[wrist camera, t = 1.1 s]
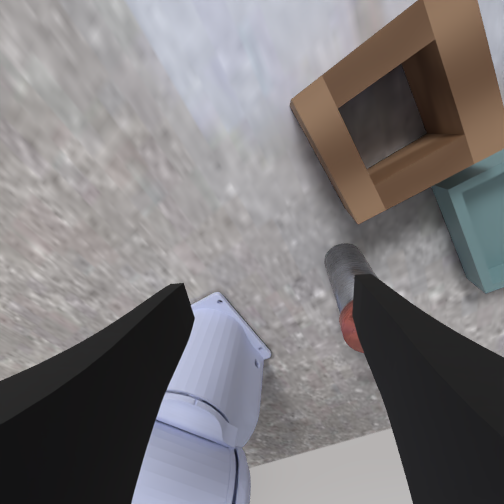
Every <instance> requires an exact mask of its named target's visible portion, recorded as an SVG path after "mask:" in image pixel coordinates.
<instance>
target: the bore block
mask: <svg viewBox="0 0 504 504" xmlns="http://www.w3.org/2000/svg"><path fill="white" fill-rule="evenodd" d="M400 64H402V67H403V69H404V72H405V75H406V78H407V80H408V83H409V86H410V89H411V91H412V94H413V97H414V99H415V102H416V105H417V108H418V110H419V113H420V116H421V119H422V121H423V124H424V127H425V130H426V132H427V134H425V135H424V136H422V137H420V138H419V139H417V140H415V141H414V142H412V143H410V144H409V145H407V146H405V147H404V148H402V149H400V150H398V151H397V152H395V153H393V154H392V155H390V156H388V157H387V158H385V159H383V160H382V161H380V162H378V163H377V164H375V165H373V166H372V167H370V168H368V169H366V167H365V165H364V163H363V161H362V159H361V157H360V155H359V152H358V150H357V148H356V146H355V144H354V142H353V140H352V138H351V136H350V134H349V131H348V129H347V127H346V125H345V123H344V121H343V119H342V117H341V115H340V113H339V110H338V108H339V107H341V106H342V105H344V104H345V103H346V102H348V101H349V100H351V99H352V98H353V97H355V96H356V95H358V94H359V93H360V92H362V91H363V90H365V89H366V88H367V87H369V86H370V85H372V84H373V83H374V82H376V81H377V80H379V79H380V78H381V77H383V76H384V75H386V74H387V73H388V72H390V71H391V70H393V69H394V68H396V67H397V66H398V65H400ZM290 107H291V109H292V111H293V113H294V115H295V117H296V118H297V120H298V122H299V124H300V126H301V128H302V130H303V131H304V133H305V135H306V137H307V139H308V141H309V143H310V144H311V146H312V148H313V150H314V152H315V154H316V155H317V157H318V159H319V161H320V163H321V165H322V167H323V168H324V170H325V172H326V174H327V176H328V178H329V180H330V181H331V183H332V185H333V187H334V189H335V191H336V192H337V194H338V196H339V198H340V200H341V202H342V204H343V205H344V207H345V209H346V210H347V211H348V212H349V214H350V215H351V216H352V218H353V219H354V220H355V221H356V223H357V224H360V223H362V222H364V221H366V220H368V219H370V218H372V217H374V216H375V215H377V214H379V213H381V212H383V211H385V210H387V209H389V208H391V207H393V206H395V205H397V204H399V203H401V202H402V201H404V200H406V199H408V198H410V197H412V196H414V195H416V194H418V193H420V192H422V191H424V190H426V189H427V188H429V187H431V186H433V185H435V184H437V183H439V182H441V181H443V180H445V179H447V178H449V177H451V176H452V175H454V174H456V173H458V172H460V171H462V170H464V169H466V168H468V167H470V166H472V165H474V164H476V163H477V162H479V161H481V160H483V159H485V158H487V157H489V156H491V155H493V154H495V153H497V152H499V151H501V150H502V149H504V106H503V102H502V98H501V94H500V90H499V86H498V82H497V78H496V74H495V70H494V66H493V62H492V58H491V54H490V50H489V45H488V41H487V37H486V33H485V29H484V25H483V21H482V17H481V13H480V9H479V5H478V1H477V0H418V1H416V2H415V3H414V4H413V5H411V6H410V7H409V8H407V9H406V10H405V11H404V12H402V13H401V14H400V15H398V16H397V17H396V18H395V19H393V20H392V21H391V22H390V23H388V24H387V25H386V26H384V27H383V28H382V29H381V30H379V31H378V32H377V33H375V34H374V35H373V36H372V37H370V38H369V39H368V40H367V41H365V42H364V43H363V44H361V45H360V46H359V47H358V48H356V49H355V50H354V51H352V52H351V53H350V54H349V55H347V56H346V57H345V58H344V59H342V60H341V61H340V62H338V63H337V64H336V65H335V66H333V67H332V68H331V69H329V70H328V71H327V72H326V73H324V74H323V75H322V76H320V77H319V78H318V79H317V80H315V81H314V82H313V83H312V84H310V85H309V86H308V87H306V88H305V89H304V90H303V91H301V92H300V93H299V94H297V95H296V96H295V97H294V98H292V99H291V102H290Z"/></svg>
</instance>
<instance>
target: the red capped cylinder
mask: <svg viewBox="0 0 504 504" xmlns="http://www.w3.org/2000/svg"><path fill="white" fill-rule="evenodd" d="M325 266H326V269H327V273H328V276H329V279H330V282H331V285H332V289H333V292H334V295H335V298H336V302H337V305H338V308H339V311H340V317H339V322H340V326H341V330H342V333H343V337H344V340H345V341H346V343H347V344H348V345H349V346H350V347H351V348H353V349H354V350H356V351H358V352H361V353H364V351H363V349H362V346H361V344H360V341H359V339H358V335H357V331H356V328H355V324H354V320H353V316H352V310H353V293H354V277H355V275H357V274H372V275H374V276H375V277H376V278H377V276H376V275H375V273H374V272H373V270H372V268H371V267H370V265H369V264H368V262H367V261H366V259H365V257H364V256H363V254H362V253H361V251H360V250H359V249H358V248H357V247H356V246H354V245H352V244H339V245H336V246H334V247H333V248H331V249H330V250H329V251H328V252H327V254H326V256H325Z"/></svg>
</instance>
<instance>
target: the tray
mask: <svg viewBox="0 0 504 504" xmlns="http://www.w3.org/2000/svg"><path fill="white" fill-rule="evenodd" d="M431 187H432V190H433V192H434V195H435V197H436V200H437V202H438V205H439V208H440V210H441V213H442V215H443V218H444V220H445V223H446V226H447V228H448V231H449V233H450V236H451V238H452V241H453V244H454V246H455V249H456V251H457V254H458V256H459V259H460V262H461V264H462V267H463V269H464V272H465V274H466V277H467V279H468V280H469V281H471V282H472V283H473V284H474V285H476V286H477V287H478V288H479V289H481V290H482V291H483V292H484V293H489V292H491V291H494V290H497V289H500V288H503V287H504V149H502V150H501V151H499V152H497V153H495V154H493V155H491V156H489V157H487V158H485V159H483V160H481V161H479V162H477V163H476V164H474V165H472V166H470V167H468V168H466V169H464V170H462V171H460V172H458V173H456V174H454V175H452V176H451V177H449V178H447V179H445V180H443V181H441V182H439V183H437V184H435V185H433V186H431Z"/></svg>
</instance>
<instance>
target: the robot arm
mask: <svg viewBox="0 0 504 504" xmlns="http://www.w3.org/2000/svg"><path fill="white" fill-rule="evenodd" d="M219 300H221V301H222V302H220V301H219ZM352 316H353V320H354V324H355V328H356V331H357V335H358V339H359V341H360V344H361V346H362V349H363V351H364V354H365V356H366V359H367V361H368V364H369V366H370V369H371V371H372V374H373V376H374V379H375V381H376V384H377V386H378V389H379V391H380V393H381V396H382V399H383V402H384V404H385V407H386V410H387V413H388V417H389V420H390V423H391V427H392V430H393V433H394V437H395V440H396V444H397V447H398V451H399V454H400V458H401V461H402V464H403V468H404V472H405V475H406V479H407V482H408V486H409V490H410V493H411V497H412V501H413V504H504V357H502V356H500V355H498V354H496V353H494V352H492V351H490V350H488V349H486V348H484V347H483V346H481V345H479V344H477V343H475V342H474V341H472V340H470V339H468V338H466V337H465V336H463V335H461V334H459V333H457V332H456V331H454V330H452V329H451V328H449V327H447V326H446V325H444V324H442V323H441V322H439V321H438V320H436V319H434V318H433V317H431V316H430V315H428V314H427V313H425V312H424V311H422V310H421V309H419V308H418V307H416V306H415V305H413V304H412V303H410V302H409V301H408V300H406V299H405V298H403V297H402V296H401V295H399V294H398V293H397V292H395V291H394V290H393V289H391V288H390V287H388V286H387V285H386V284H385V283H383V282H382V281H381V280H379V279H378V278H376V277H375V276H374V275H372V274H357V275H355V277H354V293H353V310H352ZM260 347H261V348H260ZM270 357H271V351H270V350H269V349H268V348H267V346H266V345H265V344H264V343H263V342H262V341H261V339H260V338H259V337H258V336H257V335H256V334H255V332H254V331H253V330H252V329H251V328H250V327H249V325H248V324H247V323H246V322H245V321H244V320H243V318H242V317H241V316H240V315H239V314H238V313H237V311H236V310H235V309H234V308H233V307H232V305H231V304H230V303H229V302H228V301H227V300H226V298H225V297H224V296H223V295H222V294H221V293H219V292H215V293H213V294H211V295H209V296H207V297H205V298H203V299H201V300H200V301H198V302H196V303H194V304H192V305H191V304H190V301H189V298H188V295H187V292H186V289H185V286H184V283H179V284H170V285H168V286H167V287H165V288H163V289H162V290H160V291H159V292H157V293H156V294H154V295H153V296H152V297H150V298H149V299H147V300H146V301H144V302H143V303H142V304H140V305H139V306H137V307H136V308H134V309H133V310H132V311H130V312H129V313H127V314H126V315H124V316H123V317H121V318H120V319H118V320H117V321H115V322H114V323H112V324H110V325H109V326H107V327H106V328H104V329H103V330H101V331H99V332H98V333H96V334H94V335H93V336H91V337H89V338H88V339H86V340H84V341H82V342H80V343H79V344H77V345H75V346H73V347H71V348H70V349H68V350H66V351H64V352H62V353H60V354H58V355H56V356H54V357H52V358H50V359H48V360H46V361H44V362H42V363H40V364H38V365H35V366H33V367H31V368H29V369H27V370H24V371H22V372H20V373H18V374H16V375H13V376H11V377H9V378H6V379H4V380H2V381H0V504H249V503H250V487H251V486H250V471H249V466H248V463H247V459H246V455H245V452H244V451H243V449H242V447H243V446H244V445H245V444H246V443H247V442H248V440H249V439H250V437H251V435H252V434H253V432H254V430H255V427H256V425H257V422H258V418H259V413H260V402H261V390H262V378H263V366H264V359H267V358H270Z"/></svg>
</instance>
